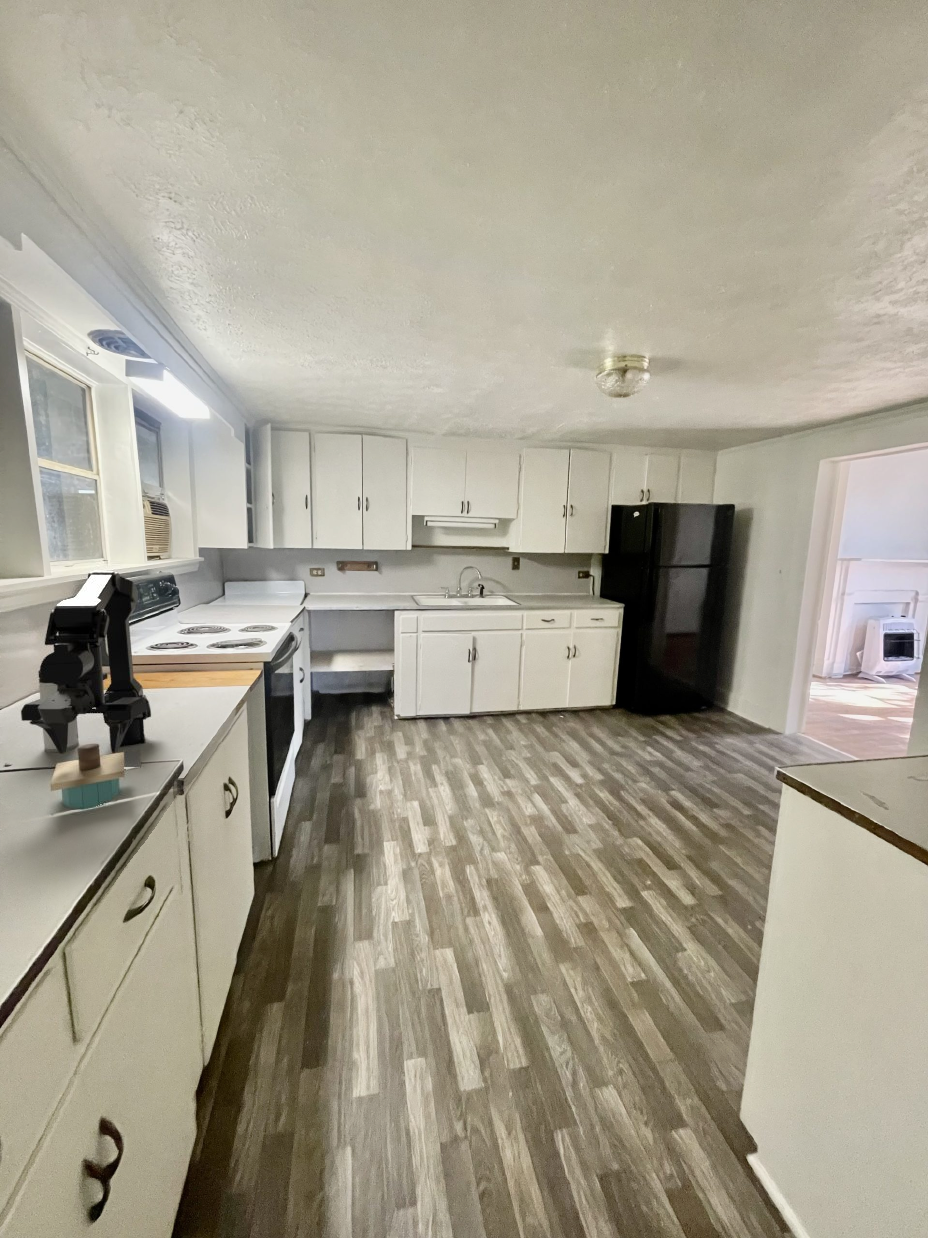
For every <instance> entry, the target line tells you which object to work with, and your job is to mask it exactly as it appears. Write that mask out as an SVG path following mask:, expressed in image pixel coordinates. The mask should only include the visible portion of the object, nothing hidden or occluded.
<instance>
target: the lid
mask: <svg viewBox="0 0 928 1238" xmlns="http://www.w3.org/2000/svg"><path fill="white" fill-rule="evenodd" d="M100 750H101V749H100V744H99V743H86V744H83V745H81V746H77V758H78V760H77V759H74V760H69V761H63V762H57V763H56V765H55V768H54V772H53V775H52V778H51V781H50V784H49V785H50V786H49V787H50V792H54V791H60V790H62V789H65V788H70V787H76V786H81V785H86V784H91V783H96V782H102V781H107V780H112V779H117V778H119V779H123V778H125V771H124V752H125V751H121V753H119V752H116V753H115V754H113V753H108V754H109V755H107V754H103V756H101V755H100Z"/></svg>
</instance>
